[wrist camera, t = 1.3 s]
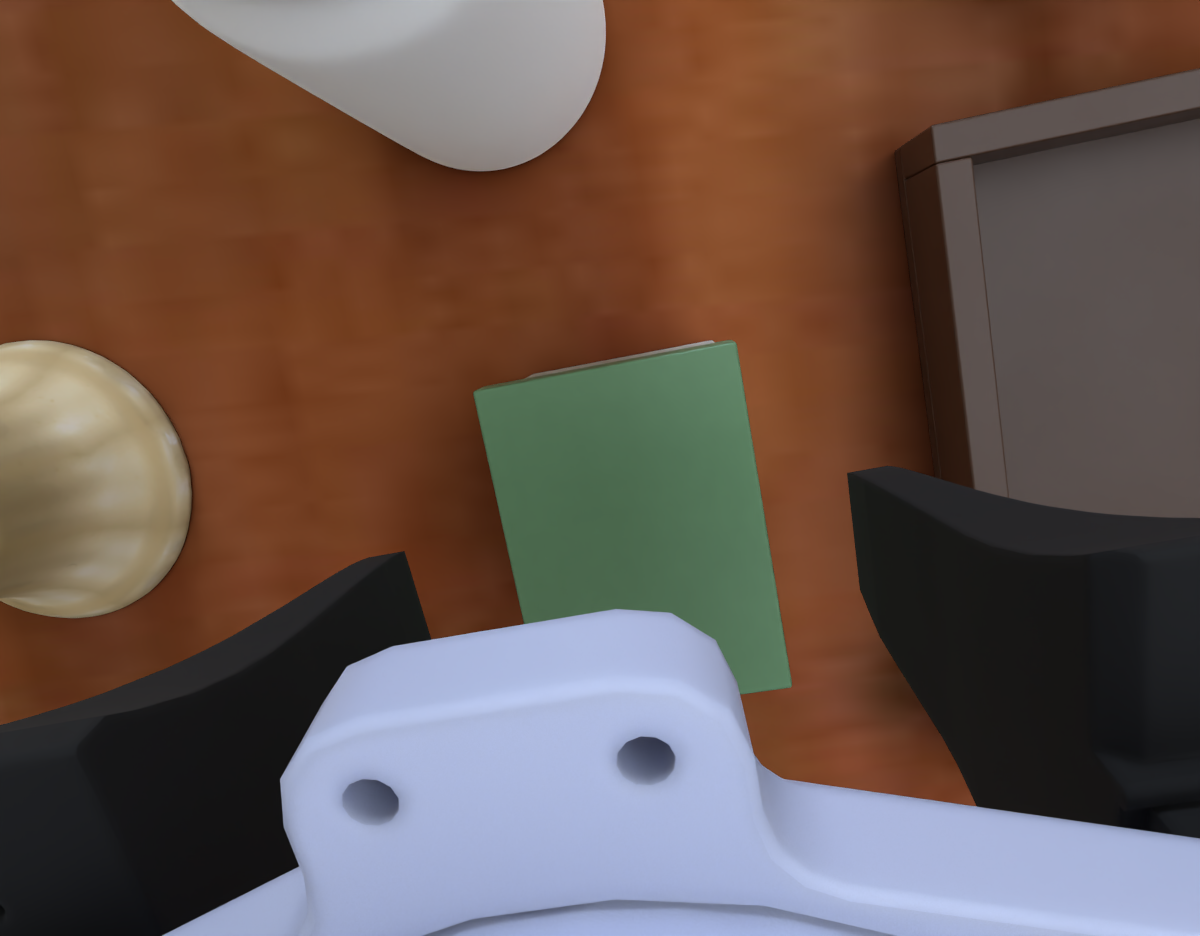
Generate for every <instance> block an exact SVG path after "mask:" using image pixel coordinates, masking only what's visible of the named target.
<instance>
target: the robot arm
mask: <svg viewBox="0 0 1200 936" xmlns="http://www.w3.org/2000/svg"><path fill="white" fill-rule="evenodd" d="M847 476H848V485H849V494H850V503H851V512H852V521H853V530H854V539H855V548H856V557H857V566H858V576H859V585H860V590H861V593H862V595H863V598H864V600H865V603H866V605H867V608H868V610H869V612H870V615H871V617H872V620H873V622H874V624H875V626H876V629H877V631H878V633H879V636H880V638H881V639H882V641H883V643H884V644H885V646H886V648H887V649H888V651H889V653H890V654H891V656H892V657H893V659H894V661H895V662H896V664H897V666H898V667H899V669H900V670H901V672H902V674H903V675H904V677H905V678H906V680H907V682H908V683H909V685H910V686H911V688H912V690H913V691H914V693H915V694H916V696H917V698H918V699H919V701H920V702H921V704H922V706H923V707H924V709H925V710H926V712H927V714H928V715H929V717H930V718H931V720H932V722H933V723H934V725H935V726H936V728H937V730H938V731H939V733H940V734H941V736H942V738H943V739H944V741H945V743H946V745H947V746H948V748H949V750H950V752H951V754H952V755H953V757H954V759H955V761H956V763H957V765H958V767H959V769H960V771H961V773H962V775H963V778H964V780H965V782H966V784H967V786H968V788H969V790H970V792H971V795H972V797H973V799H974V801H975V803H976V805H977V807H975V806H968V805H961V804H954V803H947V802H940V801H933V800H926V799H919V798H912V797H905V796H898V795H891V794H884V793H877V792H870V791H863V790H856V789H849V788H842V787H835V786H828V785H821V784H814V783H807V782H800V781H793V780H786V779H783V778H780V777H779V776H777V775H776V774H774V773H773V772H771V771H770V770H768V769H767V768H765V767H764V766H762V765H761V764H760V762H759V761H758V759H757V758H756V756H755V755H754V753H753V749H752V745H751V740H750V736H749V732H748V727H747V723H746V719H745V714H744V710H743V706H742V701H741V697H740V693H739V688H738V684H737V681H736V679H735V677H734V675H733V673H732V671H731V669H730V667H729V665H728V663H727V661H726V660H725V658H724V656H723V654H722V652H721V650H720V648H719V646H718V644H717V642H716V640H715V639H713V638H711V637H710V636H708V635H706V634H705V633H703V632H702V631H700V630H698V629H697V628H695V627H693V626H692V625H690V624H689V623H687V622H685V621H684V620H682V619H680V618H679V617H677V616H675V615H674V614H672V613H668V612H653V611H638V610H623V609H613V610H607V611H601V612H595V613H589V614H583V615H577V616H571V617H565V618H559V619H553V620H547V621H541V622H535V623H529V624H523V625H517V626H511V627H505V628H499V629H493V630H487V631H481V632H475V633H469V634H463V635H457V636H451V637H445V638H439V639H433V640H431V637H430V634H429V631H428V627H427V624H426V621H425V618H424V614H423V611H422V608H421V604H420V601H419V598H418V594H417V591H416V588H415V585H414V581H413V578H412V575H411V571H410V568H409V565H408V561H407V558H406V555H405V552H404V551H403V552H398V553H392V554H386V555H381V556H375V557H369V558H366V559H364V560H361V561H358V562H356V563H354V564H352V565H350V566H348V567H347V568H345V569H343V570H341V571H339V572H338V573H336V574H334V575H333V576H331V577H329V578H328V579H326V580H324V581H323V582H321V583H320V584H318V585H316V586H315V587H313V588H312V589H310V590H308V591H307V592H305V593H304V594H302V595H300V596H299V597H297V598H296V599H294V600H292V601H291V602H289V603H288V604H286V605H284V606H283V607H281V608H279V609H278V610H276V611H274V612H273V613H271V614H269V615H268V616H266V617H264V618H262V619H261V620H259V621H257V622H256V623H254V624H252V625H250V626H249V627H247V628H245V629H244V630H242V631H240V632H238V633H237V634H235V635H233V636H231V637H230V638H228V639H226V640H224V641H222V642H220V643H218V644H216V645H214V646H212V647H210V648H208V649H207V650H204V651H202V652H200V653H198V654H196V655H194V656H192V657H190V658H188V659H186V660H183V661H181V662H179V663H177V664H175V665H173V666H170V667H168V668H166V669H164V670H161V671H159V672H156V673H154V674H151V675H149V676H146V677H144V678H141V679H139V680H136V681H133V682H131V683H128V684H126V685H123V686H121V687H118V688H116V689H113V690H111V691H108V692H106V693H103V694H100V695H97V696H95V697H92V698H89V699H86V700H83V701H80V702H77V703H74V704H71V705H68V706H65V707H61V708H58V709H55V710H52V711H48V712H45V713H42V714H39V715H35V716H32V717H29V718H25V719H21V720H18V721H14V722H11V723H7V724H3V725H0V936H1200V518H1173V517H1148V516H1131V515H1114V514H1104V513H1094V512H1086V511H1079V510H1072V509H1065V508H1058V507H1051V506H1045V505H1040V504H1034V503H1029V502H1025V501H1020V500H1016V499H1012V498H1007V497H1003V496H999V495H994V494H991V493H987V492H983V491H979V490H976V489H972V488H969V487H965V486H962V485H958V484H955V483H952V482H948V481H945V480H942V479H938V478H935V477H932V476H928V475H925V474H922V473H918V472H915V471H911V470H907V469H903V468H899V467H893V466H885V467H879V468H873V469H868V470H862V471H856V472H851V473H847Z"/></svg>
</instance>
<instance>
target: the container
mask: <svg viewBox="0 0 1200 936" xmlns="http://www.w3.org/2000/svg"><path fill="white" fill-rule="evenodd" d="M473 395H474V400H475V404H476V409H477V413H478V418H479V422H480V427H481V431H482V436H483V440H484V445H485V449H486V454H487V459H488V463H489V468H490V472H491V477H492V481H493V486H494V490H495V495H496V499H497V504H498V508H499V513H500V517H501V522H502V526H503V531H504V535H505V540H506V545H507V549H508V554H509V558H510V563H511V567H512V572H513V576H514V581H515V585H516V590H517V594H518V599H519V603H520V608H521V612H522V617H523V621H524V624H529V623H535V622H541V621H547V620H553V619H559V618H565V617H571V616H577V615H583V614H589V613H595V612H601V611H607V610H613V609H623V610H638V611H653V612H668V613H672V614H674V615H675V616H677V617H679V618H680V619H682V620H684V621H685V622H687V623H689V624H690V625H692V626H693V627H695V628H697V629H698V630H700V631H702V632H703V633H705V634H706V635H708V636H710V637H711V638H713V639H715V640H716V642H717V644H718V646H719V648H720V650H721V652H722V654H723V656H724V658H725V660H726V661H727V663H728V665H729V667H730V669H731V671H732V673H733V675H734V677H735V679H736V681H737V684H738V688H739V693H740V694H747V693H755V692H762V691H769V690H776V689H783V688H790V687H791V686H792V681H791V675H790V669H789V663H788V657H787V651H786V644H785V638H784V632H783V626H782V620H781V614H780V608H779V601H778V595H777V589H776V583H775V577H774V571H773V565H772V559H771V552H770V546H769V540H768V534H767V528H766V522H765V516H764V510H763V503H762V497H761V491H760V485H759V479H758V473H757V467H756V460H755V454H754V448H753V442H752V436H751V430H750V424H749V418H748V411H747V405H746V399H745V393H744V387H743V381H742V375H741V369H740V362H739V356H738V350H737V344H736V343H735V342H734V341H733V340H726V341H721V342H716V343H715V342H714V341H713V340H710V341H704V342H699V343H694V344H689V345H683V346H678V347H673V348H668V349H662V350H657V351H652V352H647V353H641V354H636V355H631V356H626V357H620V358H615V359H610V360H605V361H599V362H594V363H589V364H584V365H578V366H573V367H568V368H563V369H557V370H552V371H547V372H542V373H536V374H532V375H530V376H528V377H527V378H525V379H521V380H516V381H510V382H505V383H500V384H495V385H489V386H484V387H482V388H480V389H478V390H476V391H474V393H473Z"/></svg>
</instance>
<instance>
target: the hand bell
mask: <svg viewBox="0 0 1200 936" xmlns="http://www.w3.org/2000/svg"><path fill="white" fill-rule="evenodd" d="M191 501H192V489H191V476H190V469H189V464H188V461H187V458H186V456H185V454H184V451H183V447H182V444H181V441H180V438H179V436H178V434H177V433H176V431H175V429H174V427H173V425H172V423H171V421H170V420H169V418H168V416H167V415H166V414H165V412H164V411H163V409H162V408H161V406H160V405H159V404H158V402H157V401H156V400H155V398H154V397H153V396H152V394H151V393H150V392H149V391H147V390H146V389H145V388H144V387H143V386H142V385H141V384H140V383H139V382H138V381H137V380H136V379H135V378H134V377H132V376H131V375H130V374H129V373H128V372H127V371H125V370H124V369H122V368H121V367H119V366H117V365H116V364H114V363H113V362H111V361H109V360H107V359H106V358H104V357H102V356H100V355H98V354H96V353H93V352H91V351H88V350H86V349H83V348H80V347H77V346H74V345H70V344H65V343H60V342H55V341H41V340H28V341H19V342H12V343H5V344H2V345H0V601H2V602H4V603H6V604H8V605H11V606H13V607H16V608H18V609H21V610H23V611H27V612H31V613H35V614H40V615H46V616H52V617H61V618H83V617H92V616H98V615H103V614H106V613H110V612H113V611H116V610H119V609H121V608H124V607H126V606H128V605H129V604H131V603H133V602H135V601H136V600H138V599H140V598H141V597H143V596H144V595H146V594H147V593H149V592H150V591H151V590H152V589H153V588H154V587H155V586H156V585H157V584H159V582H160V581H161V580H162V579H163V578H164V577H165V575H166V574H167V573H168V572H169V570H170V569H171V567H172V566H173V564H174V563H175V562H176V560H177V558H178V556H179V554H180V552H181V549H182V547H183V544H184V542H185V539H186V535H187V532H188V527H189V521H190V515H191Z"/></svg>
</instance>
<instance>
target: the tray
mask: <svg viewBox="0 0 1200 936" xmlns="http://www.w3.org/2000/svg"><path fill="white" fill-rule="evenodd" d="M895 161H896V169H897V178H898V186H899V194H900V202H901V210H902V218H903V226H904V234H905V242H906V250H907V258H908V266H909V274H910V282H911V290H912V298H913V306H914V314H915V322H916V330H917V338H918V346H919V354H920V362H921V370H922V378H923V386H924V394H925V402H926V410H927V418H928V426H929V434H930V442H931V450H932V458H933V466H934V474H935V478H938V479H942V480H945V481H948V482H952V483H955V484H958V485H962V486H965V487H969V488H972V489H976V490H979V491H983V492H987V493H991V494H994V495H999V496H1003V497H1007V498H1012V499H1016V500H1020V501H1025V502H1029V503H1034V504H1040V505H1045V506H1051V507H1058V508H1065V509H1072V510H1079V511H1086V512H1094V513H1104V514H1114V515H1131V516H1148V517H1173V518H1200V68H1198V69H1193V70H1188V71H1184V72H1179V73H1174V74H1170V75H1165V76H1160V77H1156V78H1151V79H1146V80H1142V81H1137V82H1132V83H1128V84H1123V85H1118V86H1114V87H1109V88H1104V89H1100V90H1095V91H1090V92H1086V93H1081V94H1076V95H1072V96H1067V97H1062V98H1058V99H1053V100H1048V101H1043V102H1039V103H1034V104H1029V105H1025V106H1020V107H1015V108H1011V109H1006V110H1001V111H997V112H992V113H987V114H983V115H978V116H973V117H969V118H964V119H959V120H955V121H950V122H945V123H941V124H936V125H932V126H931V127H929V128H928V129H926V130H925V131H923V132H922V133H920V134H919V135H917V136H916V137H914V138H913V139H911V140H910V141H908V142H907V143H905V144H904V145H902V146H901V147H900V148H898V149H897V150H895Z"/></svg>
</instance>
